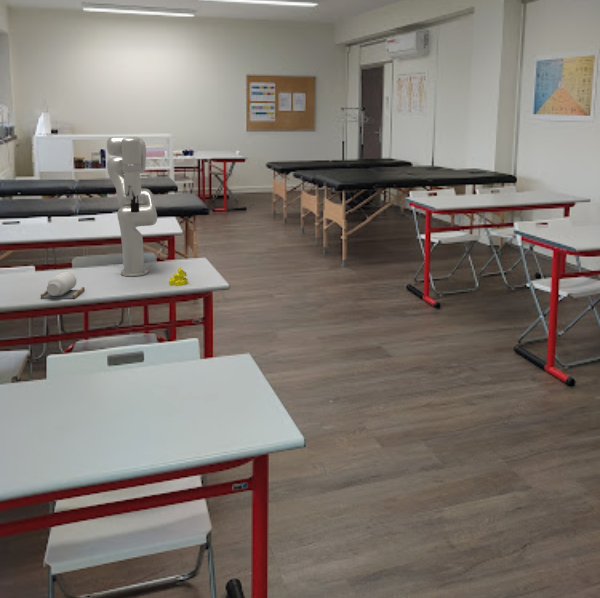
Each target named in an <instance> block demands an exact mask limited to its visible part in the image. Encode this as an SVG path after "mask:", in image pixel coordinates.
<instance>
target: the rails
mask: <svg viewBox="0 0 600 598" xmlns="http://www.w3.org/2000/svg"><path fill="white" fill-rule="evenodd" d="M77 290H78V291H77V292H75V293H74V294H73V295H72V296H73V298H75V297H76V298H75V299H77V298H78V297H79V296H80V295H79V294H80V293H81V292H82V291H84V290H85V287H84V286H82V287H80V288H79V289H77ZM85 291H86V290H85ZM85 291H84V292H85ZM47 294H48V292H47V289H46V290H45V291H43V292H42V293H41V294H40V300H44V299H43V297H44V296H45V295H47ZM78 295H79V296H78ZM77 296H78V297H77Z"/></svg>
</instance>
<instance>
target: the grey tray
mask: <svg viewBox="0 0 600 598" xmlns="http://www.w3.org/2000/svg"><path fill="white" fill-rule="evenodd" d="M78 290H79V289H71V290H69V291H68V292H66V293H65V294H63V295H61V296H53V295H50V294H49V293H48V294H47V295H45V296H44V297H43V299H42V300H76V299H77V298H78V297H79V296H81V295H82V294H83V293H84V292H85V291H86V290H84V291H82V292H81V293H80V294H79V295H78V296H77V298H76V297H75V298H73V296H72V295H73V294H74V293H75V292H77V291H78Z"/></svg>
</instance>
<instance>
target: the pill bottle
mask: <svg viewBox="0 0 600 598" xmlns="http://www.w3.org/2000/svg"><path fill="white" fill-rule="evenodd" d="M76 285H77V277H76V275H74V273H73V272H71V271H62V272H61V273H58V274H57V275H56V276H53V277H52V278H50V279H49V280H48V283H47V286H46V290H47V292H48V293H49V294H50V295H53V296H61V295H63V294H65V293H66V292H68V291H69V290H73V288H75V286H76Z"/></svg>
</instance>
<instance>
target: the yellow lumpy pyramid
mask: <svg viewBox="0 0 600 598" xmlns="http://www.w3.org/2000/svg"><path fill="white" fill-rule="evenodd" d="M187 277H188V274H187V272H186V271H185V270H183V268H182V267H181V266H179V267H178V268H177V272H174V273H173V277H172V276H170V278H169V279H168V283H169V286H175V287H178V286H185V284H186V285H187V284H189V279H188V278H187Z"/></svg>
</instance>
